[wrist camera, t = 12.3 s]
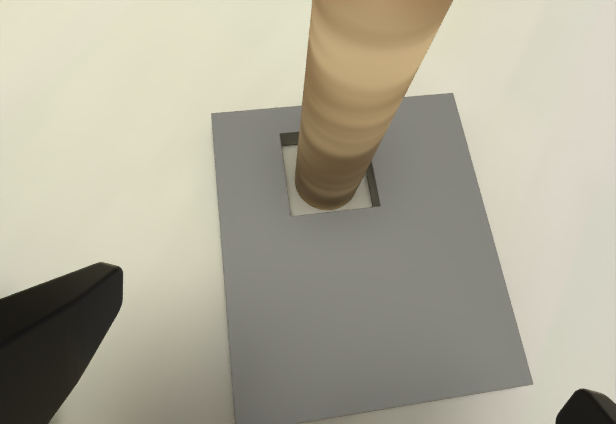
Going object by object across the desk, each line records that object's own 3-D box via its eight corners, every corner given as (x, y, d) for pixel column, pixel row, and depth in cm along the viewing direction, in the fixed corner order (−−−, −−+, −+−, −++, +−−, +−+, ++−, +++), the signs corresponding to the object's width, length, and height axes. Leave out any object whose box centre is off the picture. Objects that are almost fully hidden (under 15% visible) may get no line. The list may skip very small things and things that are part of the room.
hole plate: (516, 381, 21) (533, 384, 20) (239, 427, 20) (236, 433, 18) (443, 107, 26) (452, 93, 24) (215, 126, 24) (211, 113, 23)
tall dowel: (362, 206, 23) (472, 25, 10) (299, 213, 23) (327, 34, 10) (351, 148, 24) (439, -85, 11) (291, 154, 24) (306, -80, 11)
